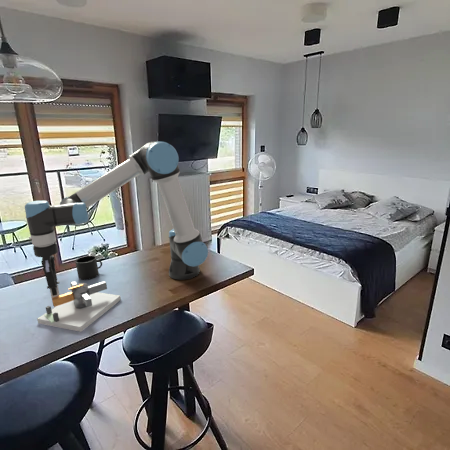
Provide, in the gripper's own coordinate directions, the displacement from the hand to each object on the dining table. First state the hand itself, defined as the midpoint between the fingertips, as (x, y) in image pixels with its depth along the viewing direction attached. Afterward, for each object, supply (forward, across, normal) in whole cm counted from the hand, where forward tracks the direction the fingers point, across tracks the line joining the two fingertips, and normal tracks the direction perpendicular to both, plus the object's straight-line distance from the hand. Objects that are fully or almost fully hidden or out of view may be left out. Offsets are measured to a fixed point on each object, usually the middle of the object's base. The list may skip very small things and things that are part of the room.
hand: (56, 301), depth 121 cm
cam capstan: (+4, 0, +9) cm, 10 cm away
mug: (+8, -34, +13) cm, 37 cm away
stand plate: (+6, 0, +8) cm, 10 cm away
